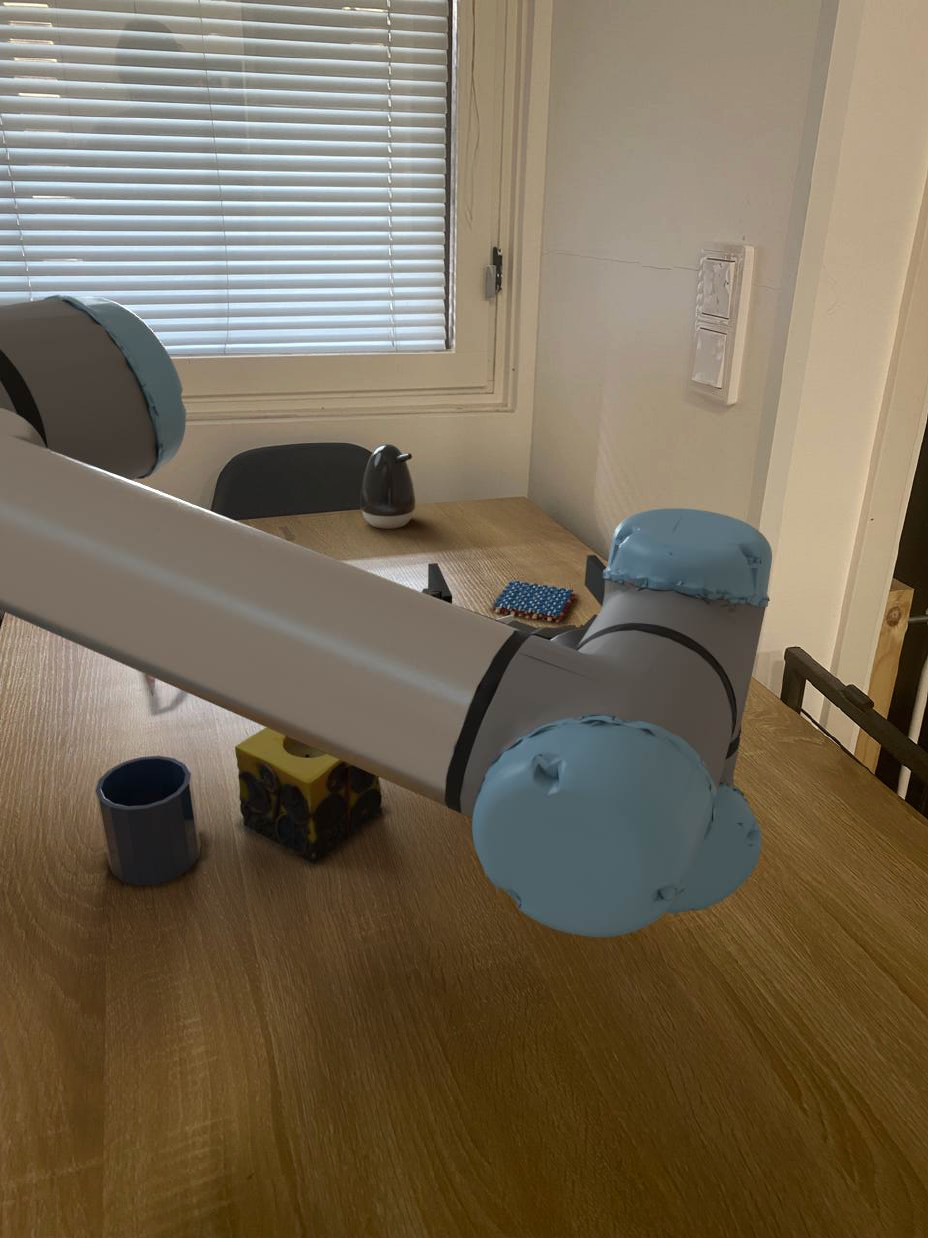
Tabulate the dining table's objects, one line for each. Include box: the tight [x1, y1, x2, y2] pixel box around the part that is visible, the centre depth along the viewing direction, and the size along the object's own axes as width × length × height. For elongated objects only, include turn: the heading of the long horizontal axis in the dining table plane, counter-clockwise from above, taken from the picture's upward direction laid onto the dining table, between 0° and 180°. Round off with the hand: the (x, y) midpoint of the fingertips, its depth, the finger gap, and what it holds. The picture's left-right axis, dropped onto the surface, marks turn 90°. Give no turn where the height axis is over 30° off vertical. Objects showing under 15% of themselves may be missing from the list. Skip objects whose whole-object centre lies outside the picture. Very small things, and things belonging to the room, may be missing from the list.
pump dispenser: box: [359, 443, 417, 530], centre depth 165 cm, size 10×10×15 cm
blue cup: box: [94, 755, 201, 887], centre depth 83 cm, size 8×8×9 cm
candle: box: [234, 727, 383, 865], centre depth 88 cm, size 10×10×10 cm
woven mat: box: [492, 580, 576, 623], centre depth 137 cm, size 10×11×2 cm
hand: (512, 573), depth 76 cm, fingers open, 13 cm apart
